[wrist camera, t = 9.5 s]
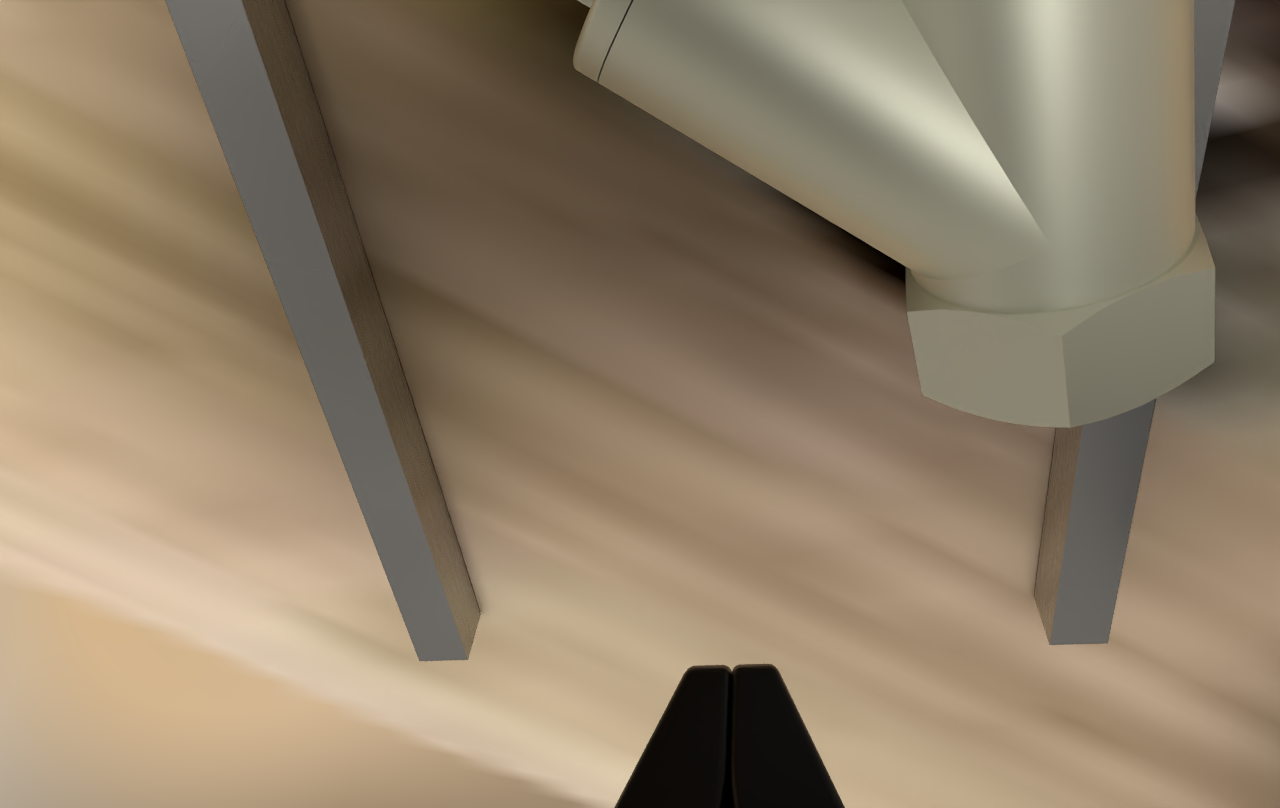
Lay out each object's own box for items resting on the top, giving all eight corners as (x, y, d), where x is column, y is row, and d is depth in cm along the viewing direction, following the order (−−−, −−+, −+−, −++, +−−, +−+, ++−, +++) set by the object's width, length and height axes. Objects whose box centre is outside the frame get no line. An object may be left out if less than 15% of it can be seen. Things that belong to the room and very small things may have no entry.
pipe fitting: (425, -172, 9) (1252, -477, 7) (547, -221, 12) (1153, -446, 10) (668, 475, 14) (1232, 422, 11) (714, 321, 17) (1168, 254, 14)
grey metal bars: (1105, 593, 19) (1132, 660, 18) (420, 616, 21) (399, 676, 20) (1412, -1034, 8) (1539, -1168, 7) (-60, -681, 10) (-176, -733, 9)
